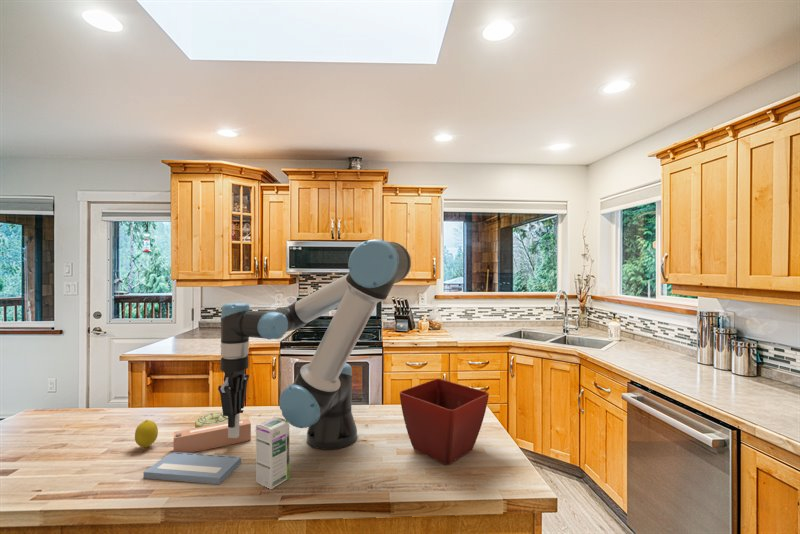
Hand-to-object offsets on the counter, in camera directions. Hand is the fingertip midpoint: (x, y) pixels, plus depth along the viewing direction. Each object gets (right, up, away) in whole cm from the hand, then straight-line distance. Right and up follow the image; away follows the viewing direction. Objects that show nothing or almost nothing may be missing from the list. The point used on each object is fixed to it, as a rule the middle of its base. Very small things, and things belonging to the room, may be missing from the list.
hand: (233, 436), depth 110 cm
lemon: (-24, -3, -2) cm, 25 cm away
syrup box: (+17, -3, -17) cm, 25 cm away
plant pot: (+61, -4, -1) cm, 61 cm away
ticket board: (-4, -3, -13) cm, 14 cm away
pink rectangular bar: (-6, -3, +1) cm, 7 cm away
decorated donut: (-12, -3, +12) cm, 17 cm away
